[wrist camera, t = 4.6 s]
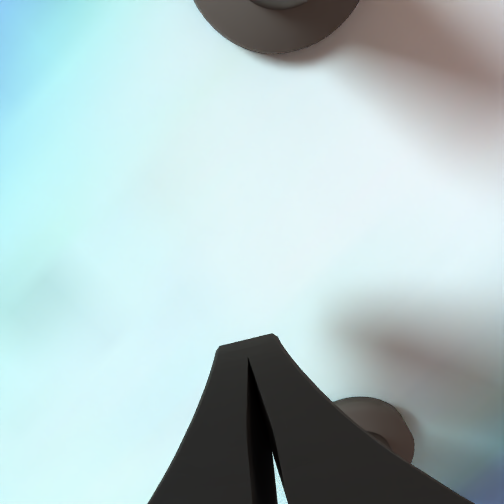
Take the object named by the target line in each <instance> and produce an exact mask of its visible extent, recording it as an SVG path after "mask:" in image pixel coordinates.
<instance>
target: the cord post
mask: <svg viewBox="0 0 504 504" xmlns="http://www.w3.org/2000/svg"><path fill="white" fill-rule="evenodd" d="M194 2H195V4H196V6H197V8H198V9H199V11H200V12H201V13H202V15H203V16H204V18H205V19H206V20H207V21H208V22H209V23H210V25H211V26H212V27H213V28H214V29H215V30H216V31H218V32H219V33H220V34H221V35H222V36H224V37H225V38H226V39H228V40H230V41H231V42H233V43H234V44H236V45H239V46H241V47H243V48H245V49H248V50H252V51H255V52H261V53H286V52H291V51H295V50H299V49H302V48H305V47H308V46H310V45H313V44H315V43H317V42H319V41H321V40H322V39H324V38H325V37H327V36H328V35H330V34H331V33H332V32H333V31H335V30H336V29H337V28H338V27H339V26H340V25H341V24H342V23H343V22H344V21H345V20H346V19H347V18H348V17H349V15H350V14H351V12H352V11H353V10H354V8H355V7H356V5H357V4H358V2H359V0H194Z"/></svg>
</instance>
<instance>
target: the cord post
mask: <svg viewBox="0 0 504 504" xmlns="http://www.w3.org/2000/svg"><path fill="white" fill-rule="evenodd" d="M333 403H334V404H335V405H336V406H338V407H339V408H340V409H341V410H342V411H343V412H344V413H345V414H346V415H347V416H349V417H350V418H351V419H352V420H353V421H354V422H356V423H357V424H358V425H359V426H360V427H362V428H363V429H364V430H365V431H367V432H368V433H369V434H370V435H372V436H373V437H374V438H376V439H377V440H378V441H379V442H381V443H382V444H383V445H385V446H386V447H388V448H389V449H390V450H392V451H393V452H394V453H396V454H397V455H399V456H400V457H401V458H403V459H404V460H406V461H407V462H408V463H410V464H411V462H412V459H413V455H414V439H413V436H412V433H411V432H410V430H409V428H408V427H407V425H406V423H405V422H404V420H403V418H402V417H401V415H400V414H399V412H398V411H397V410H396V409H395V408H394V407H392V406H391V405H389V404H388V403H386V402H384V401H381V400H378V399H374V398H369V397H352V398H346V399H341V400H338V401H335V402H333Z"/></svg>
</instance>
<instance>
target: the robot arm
mask: <svg viewBox="0 0 504 504" xmlns="http://www.w3.org/2000/svg"><path fill="white" fill-rule="evenodd" d="M272 452H273V455H272ZM273 456H274V459H275V462H276V465H277V469H278V472H279V475H280V478H281V482H282V485H283V488H284V492H285V495H286V498H287V501H288V504H474V503H473V502H471V501H469V500H467V499H466V498H464V497H462V496H460V495H459V494H457V493H456V492H454V491H452V490H451V489H449V488H448V487H446V486H445V485H443V484H441V483H440V482H438V481H437V480H435V479H434V478H432V477H430V476H429V475H427V474H426V473H424V472H423V471H421V470H419V469H418V468H416V467H415V466H413V465H412V464H410V463H408V462H407V461H406V460H404V459H403V458H401V457H400V456H399V455H397V454H396V453H394V452H393V451H392V450H390V449H389V448H388V447H386V446H385V445H383V444H382V443H381V442H379V441H378V440H377V439H376V438H374V437H373V436H372V435H370V434H369V433H368V432H367V431H365V430H364V429H363V428H362V427H360V426H359V425H358V424H357V423H356V422H354V421H353V420H352V419H351V418H350V417H349V416H347V415H346V414H345V413H344V412H343V411H342V410H341V409H340V408H339V407H338V406H336V405H335V404H334V403H333V402H332V401H331V400H330V399H329V398H328V397H327V396H326V395H325V394H324V393H323V392H322V391H321V390H320V389H319V388H318V387H317V386H316V385H315V384H314V383H313V382H312V381H311V380H310V379H309V377H308V376H307V375H306V374H305V373H304V372H303V371H302V370H301V369H300V367H299V366H298V365H297V364H296V363H295V361H294V360H293V359H292V358H291V356H290V355H289V354H288V352H287V351H286V350H285V348H284V347H283V345H282V344H281V342H280V340H279V338H278V337H277V336H276V335H274V334H272V333H271V334H267V335H263V336H259V337H255V338H251V339H247V340H243V341H238V342H234V343H230V344H226V345H222V346H219V348H218V349H217V351H216V353H215V357H214V361H213V365H212V368H211V371H210V374H209V377H208V380H207V383H206V386H205V389H204V391H203V394H202V396H201V399H200V401H199V404H198V407H197V409H196V412H195V414H194V416H193V419H192V421H191V423H190V425H189V427H188V429H187V432H186V434H185V436H184V438H183V440H182V442H181V444H180V446H179V448H178V451H177V452H176V454H175V456H174V458H173V460H172V462H171V464H170V466H169V468H168V469H167V471H166V473H165V475H164V477H163V478H162V480H161V482H160V484H159V485H158V487H157V489H156V490H155V492H154V494H153V496H152V497H151V499H150V501H149V502H148V504H278V502H277V493H276V483H275V474H274V464H273Z"/></svg>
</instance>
